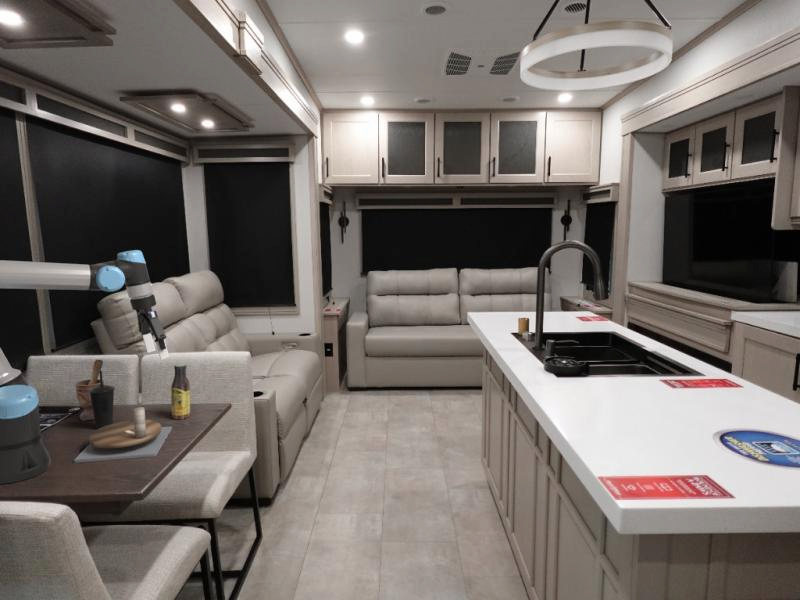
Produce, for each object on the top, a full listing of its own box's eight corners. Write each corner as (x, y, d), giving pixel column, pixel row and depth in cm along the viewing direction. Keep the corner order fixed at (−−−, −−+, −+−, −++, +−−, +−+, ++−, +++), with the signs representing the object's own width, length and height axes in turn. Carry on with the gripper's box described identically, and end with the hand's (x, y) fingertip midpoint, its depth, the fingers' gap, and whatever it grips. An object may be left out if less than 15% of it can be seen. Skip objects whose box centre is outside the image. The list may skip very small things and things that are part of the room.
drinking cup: (122, 423, 176) (118, 368, 174) (107, 431, 169) (103, 374, 166) (101, 422, 177) (98, 367, 174) (86, 430, 169) (82, 373, 167)
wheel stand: (74, 462, 146) (74, 459, 146) (101, 433, 167) (101, 431, 167) (155, 456, 151) (155, 453, 151) (171, 428, 172) (171, 426, 172)
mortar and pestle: (82, 411, 187) (78, 359, 185) (109, 409, 191) (105, 357, 188) (75, 422, 177) (71, 367, 174) (103, 419, 180) (100, 365, 177)
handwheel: (77, 444, 156) (74, 406, 154) (139, 424, 173) (137, 390, 171) (111, 460, 145) (109, 420, 144) (174, 437, 162) (172, 401, 160)
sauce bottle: (168, 418, 182) (165, 365, 179) (182, 413, 187) (180, 361, 185) (180, 421, 179) (177, 367, 176) (194, 416, 184) (192, 363, 182)
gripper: (166, 296, 162) (182, 357, 167) (141, 290, 180) (156, 345, 185) (142, 302, 157) (159, 365, 162) (119, 296, 175) (135, 352, 180)
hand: (158, 354), depth 174 cm, fingers open, 13 cm apart
